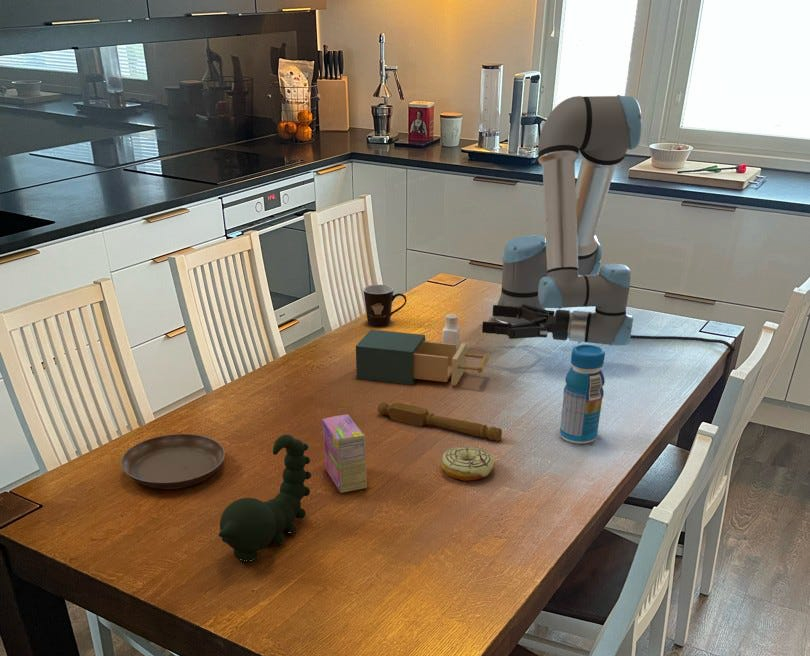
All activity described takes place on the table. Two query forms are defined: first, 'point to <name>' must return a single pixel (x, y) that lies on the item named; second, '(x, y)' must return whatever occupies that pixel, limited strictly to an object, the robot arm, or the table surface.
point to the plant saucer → (173, 460)
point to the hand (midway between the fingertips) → (487, 318)
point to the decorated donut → (467, 463)
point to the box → (345, 453)
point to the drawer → (443, 361)
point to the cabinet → (387, 356)
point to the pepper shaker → (451, 331)
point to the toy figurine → (268, 507)
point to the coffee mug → (380, 304)
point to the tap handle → (436, 420)
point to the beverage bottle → (583, 395)
